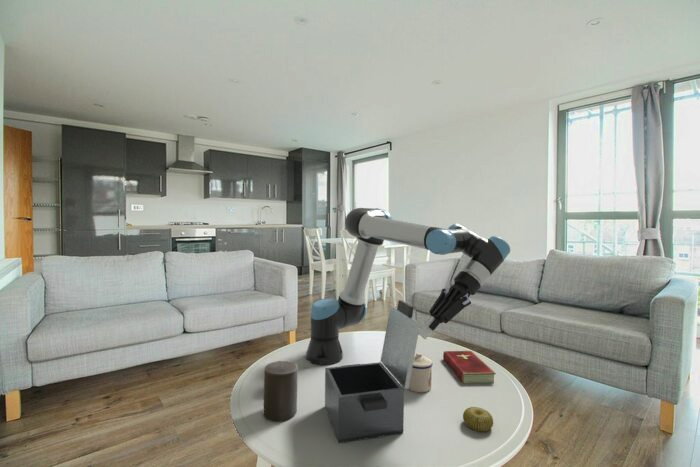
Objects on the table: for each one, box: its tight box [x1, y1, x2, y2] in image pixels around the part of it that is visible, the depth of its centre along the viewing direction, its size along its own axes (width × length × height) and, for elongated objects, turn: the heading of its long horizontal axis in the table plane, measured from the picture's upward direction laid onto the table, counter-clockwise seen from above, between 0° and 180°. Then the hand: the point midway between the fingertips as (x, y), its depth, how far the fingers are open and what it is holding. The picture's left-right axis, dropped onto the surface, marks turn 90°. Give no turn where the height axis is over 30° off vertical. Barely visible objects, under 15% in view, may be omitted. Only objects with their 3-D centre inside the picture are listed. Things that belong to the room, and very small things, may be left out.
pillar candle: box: [263, 360, 299, 423], centre depth 101 cm, size 10×10×15 cm
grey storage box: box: [324, 361, 405, 444], centre depth 98 cm, size 24×18×12 cm
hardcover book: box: [442, 350, 497, 384], centre depth 131 cm, size 12×21×4 cm, turn 3°
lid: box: [380, 299, 421, 390], centre depth 100 cm, size 18×21×1 cm
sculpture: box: [462, 406, 494, 432], centre depth 96 cm, size 8×4×8 cm
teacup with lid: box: [408, 352, 433, 393], centre depth 119 cm, size 12×9×12 cm
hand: (421, 335), depth 101 cm, fingers closed
